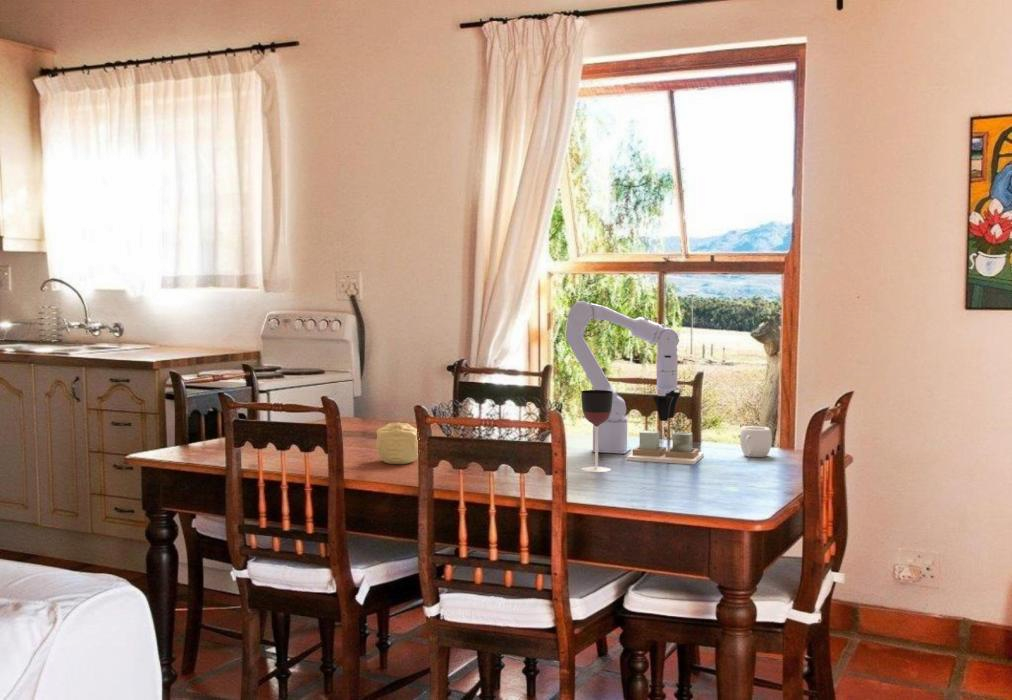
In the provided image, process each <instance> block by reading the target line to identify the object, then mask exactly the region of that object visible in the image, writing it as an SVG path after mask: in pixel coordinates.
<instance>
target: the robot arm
mask: <svg viewBox="0 0 1012 700" xmlns="http://www.w3.org/2000/svg"><path fill="white" fill-rule="evenodd" d="M592 318H593V322H595V321H607V322H609V323H612V324H615V325H618V326H620V327H622V328H625V329H628V330H629V331H630V332H631V335H632V337H636V338H638V339H640V340H643V341H645V342H647V343H650V344H653V345H654V344H657V345H658V346H657V354H656V386H655V389H656V391H657V394H654V395H652V399H653V401H654V403H655V405H656V409H657V415H658V420H659V421H660V422H668V421H669V418H671V419H673V418H674V416H675V411H676V407H677V404H678V400H679V398H680V396H681V392H679V391H681V390H682V386H678V362H679V361H678V359H679V357H678V347H677V346H678V345H679V342H680V339H679V335H678V333H677V332H676V331H675V330H674V329H672V328H670V327H669V326H667V327H665V326H666V325H665V324H663V323H661V324H659V323H656V322H655V321H652V320H650V318H649V317H648V316H644V317H643V316H642V317H641V316H639V317H637V318H632V317H629V316H627V315H625V314H623V313H620V312H618V311H615V310H613V309H611V308H609V307H607V306H604V305H600V304H596V303H593V302H592V303H590V302H587V301H584V300H579V301H578V300H577V302H575V303H574V304H572V306H571V308H570V309H569V312H568V315H567V318H566V320H567V321H566V332H565V340H566V341H567V343H568V345H569V347H570V350H571V351H572V352H573V354H574V355H575V358H576V359H577V361H578V363H579V364H580V366H581V367H582V369H583V371H584V373H585V374H586V376H587V378H588V380H589V382H590V384H591V385H592V387H593V390H607V391H612V392H613V398H612V409H611V413H610V416H609V418H608V419H607V420H606V421H605V422H604V423H602V424H600V425H599V426H598V453H608V454H626V453H628V452H630V451H631V450H632V448H631V447H628V418H627V417H625V415H626V413H627V406H626V401H625V400H624V398H623V397H622V396H620V395H619V394H617V392H616V391H615V389H614V387H613V386H612V384H611V383H610V381H609V380H608V377H607V376H606V374H605V372H604V370H603V369H602V367H601V365H600V364H599V362H598V360H597V359H596V357H595V355H594V353H593V352H592V350H591V348H590V346H589V344H588V343H587V341H586V339H585V338H584V334H585V331H586V328H587V325H588V324H589V323H590V321H591V320H592ZM678 390H679V391H678ZM592 425H593V424H592ZM591 452H593V453H595V425H593V427H592V450H591Z"/></svg>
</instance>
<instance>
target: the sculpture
mask: <svg viewBox="0 0 1012 700" xmlns="http://www.w3.org/2000/svg"><path fill="white" fill-rule="evenodd" d="M417 429H418V428H416V427H414V426H412V425H410V423H405V422H404V423H402V422H399V421H398V422H395V423H394V422H393V423H392V422H391V423H390V422H389V423H387V424H385V425H384V426H382V427H379V428H377V430H376V431H375V432H376V437H377V438H376V450H377V453H378V457H379V459H380V460H381V461H383V462H384V463H386V464H390V465H406V464H407V465H408V464H410V463H412V462H414V461H415V460H416V459H417V457H418V456H419V454H418V440H417Z"/></svg>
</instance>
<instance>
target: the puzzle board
mask: <svg viewBox="0 0 1012 700" xmlns="http://www.w3.org/2000/svg"><path fill="white" fill-rule="evenodd" d="M660 436H661V435H660V430H641V431H639V445H637V446H636V447H635V448H633V449H632V453H631V454H629V455H627V456H626V461H633V462H634V461H635V462H649V463H661V464H663V463H665V464H680V465H695V464H696V463H698V462H699V460H701V459H702V458H703V457H704V452H700V449H699V448H693V447H692V452H675V451H672V446H671V447H669V448H668V449H667V447H666V446H660V439H661V437H660Z"/></svg>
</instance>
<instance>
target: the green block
mask: <svg viewBox="0 0 1012 700" xmlns="http://www.w3.org/2000/svg"><path fill="white" fill-rule="evenodd" d="M671 447H672V451H675V452H692V448H693V432H681V431H680V432H677V431H675V432H674V433H673V434H672V446H671Z"/></svg>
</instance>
